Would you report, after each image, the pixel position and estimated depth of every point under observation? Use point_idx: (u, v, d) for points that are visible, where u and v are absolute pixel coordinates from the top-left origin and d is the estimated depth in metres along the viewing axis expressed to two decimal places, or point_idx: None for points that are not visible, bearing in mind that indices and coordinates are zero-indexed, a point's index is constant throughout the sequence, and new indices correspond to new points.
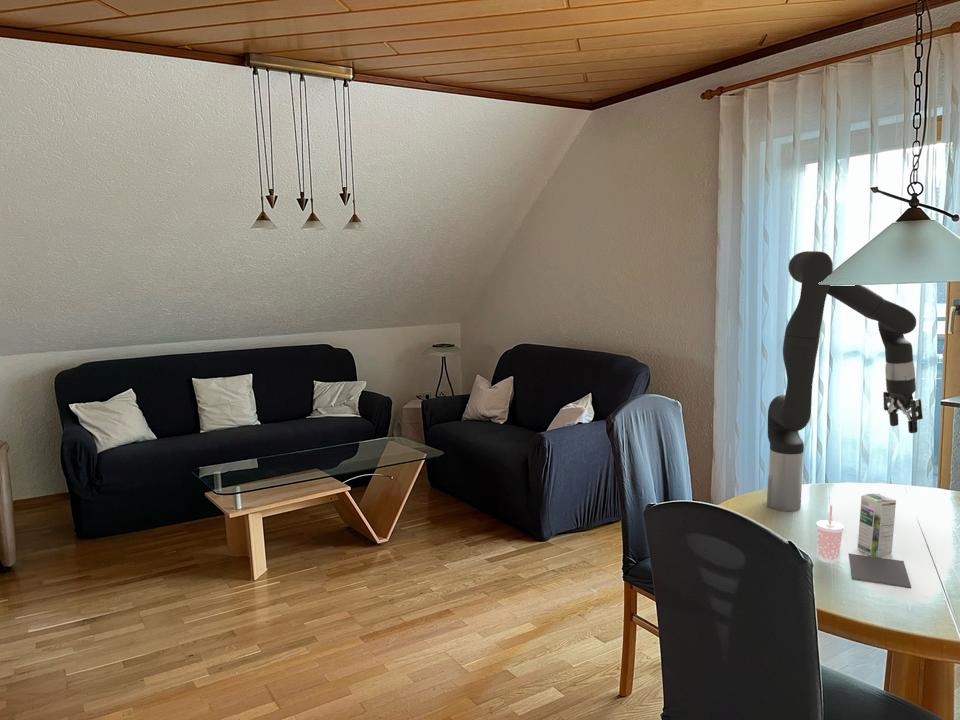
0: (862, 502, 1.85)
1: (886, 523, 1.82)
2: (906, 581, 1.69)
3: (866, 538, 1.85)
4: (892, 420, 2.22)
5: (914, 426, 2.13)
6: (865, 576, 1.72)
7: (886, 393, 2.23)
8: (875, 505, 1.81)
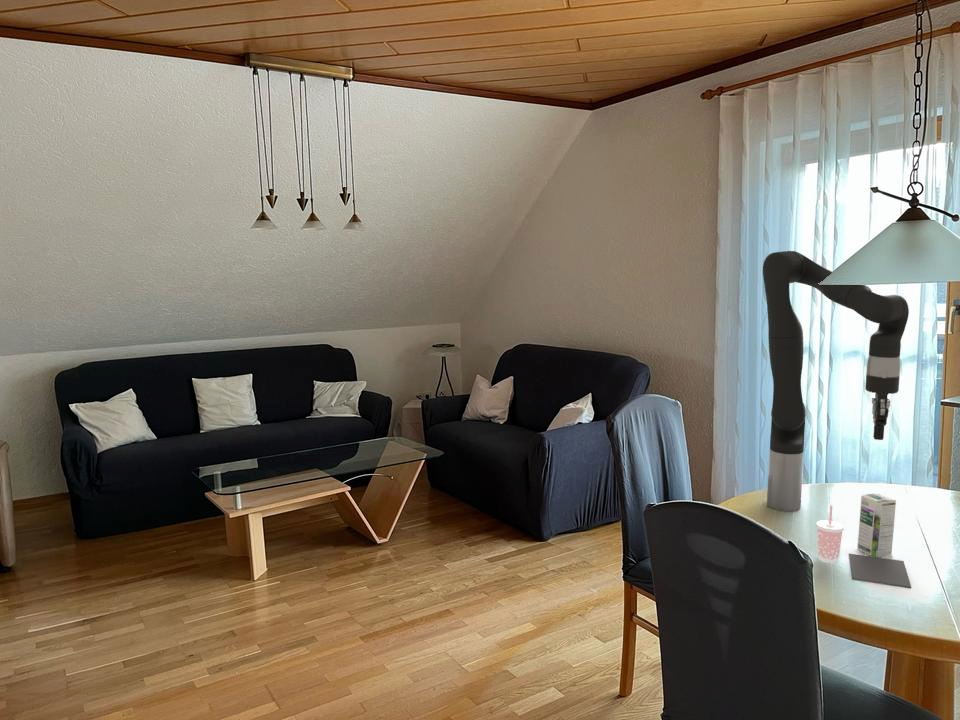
0: (862, 502, 1.85)
1: (886, 523, 1.82)
2: (906, 581, 1.69)
3: (866, 538, 1.85)
4: None
5: (878, 432, 1.89)
6: (865, 576, 1.72)
7: None
8: (875, 505, 1.81)
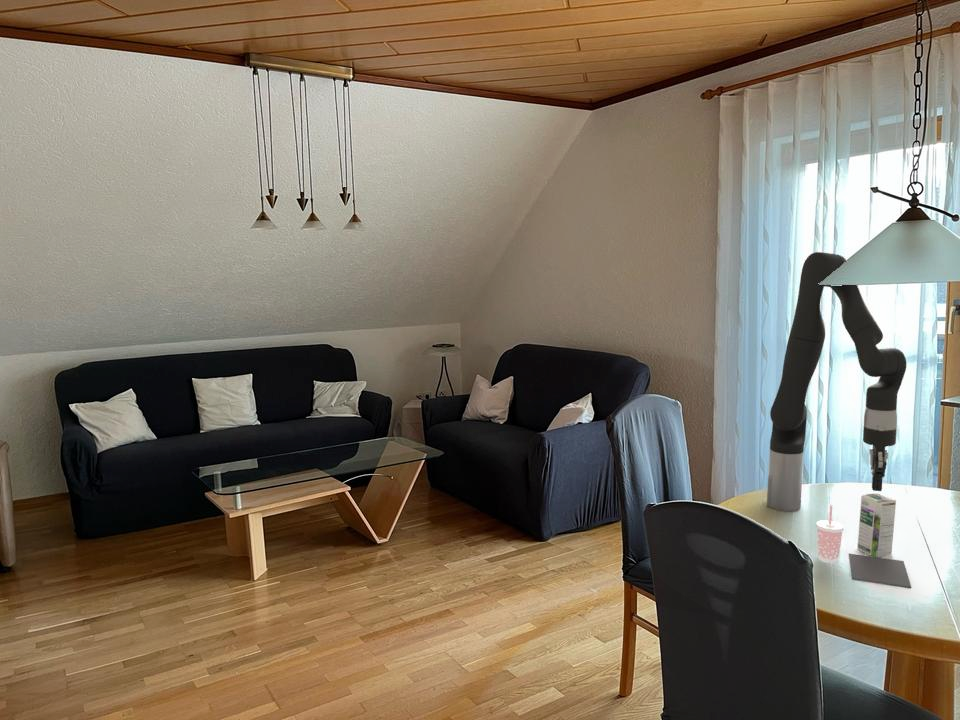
0: (862, 502, 1.85)
1: (886, 523, 1.82)
2: (906, 581, 1.69)
3: (866, 538, 1.85)
4: None
5: (876, 483, 1.91)
6: (865, 576, 1.72)
7: None
8: (875, 505, 1.81)
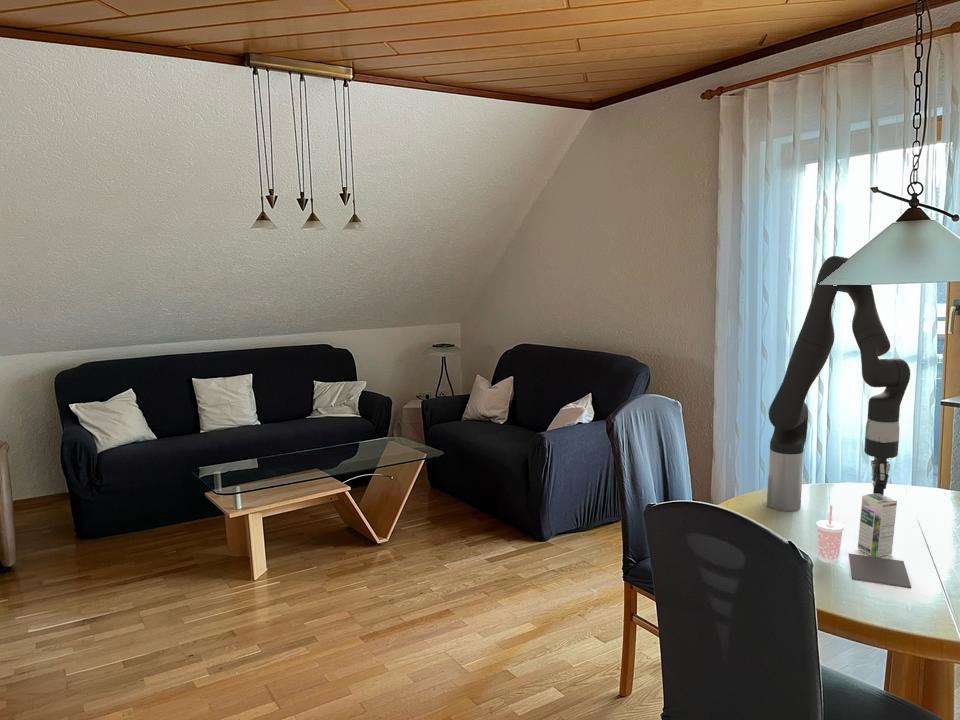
0: (863, 502, 1.85)
1: (887, 524, 1.82)
2: (906, 581, 1.69)
3: (866, 538, 1.84)
4: (874, 493, 1.89)
5: None
6: (865, 576, 1.72)
7: None
8: (876, 506, 1.81)
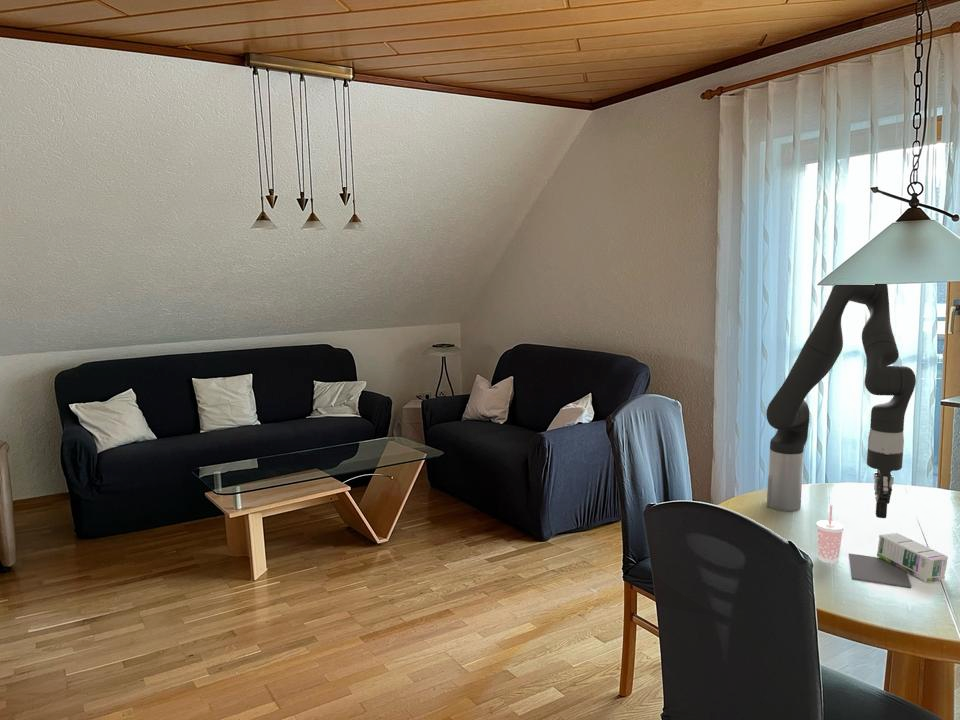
0: (923, 559, 1.69)
1: None
2: (906, 581, 1.69)
3: (890, 551, 1.78)
4: None
5: (881, 510, 1.78)
6: (865, 576, 1.72)
7: None
8: (923, 576, 1.70)
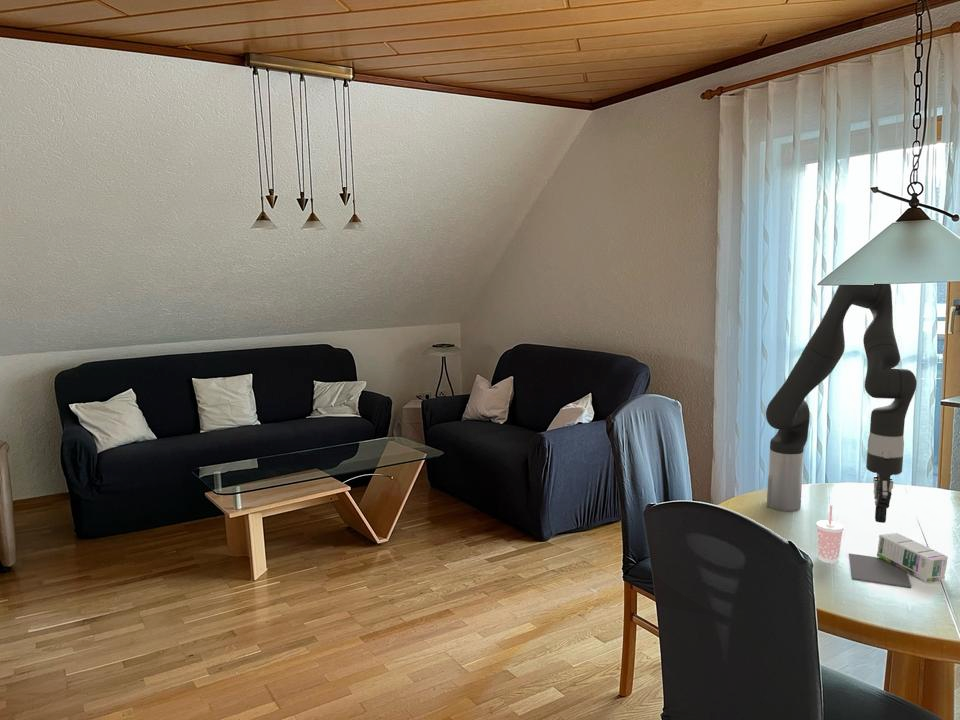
0: (923, 559, 1.69)
1: None
2: (906, 581, 1.69)
3: (890, 551, 1.78)
4: None
5: (880, 514, 1.76)
6: (865, 576, 1.72)
7: None
8: (923, 576, 1.70)
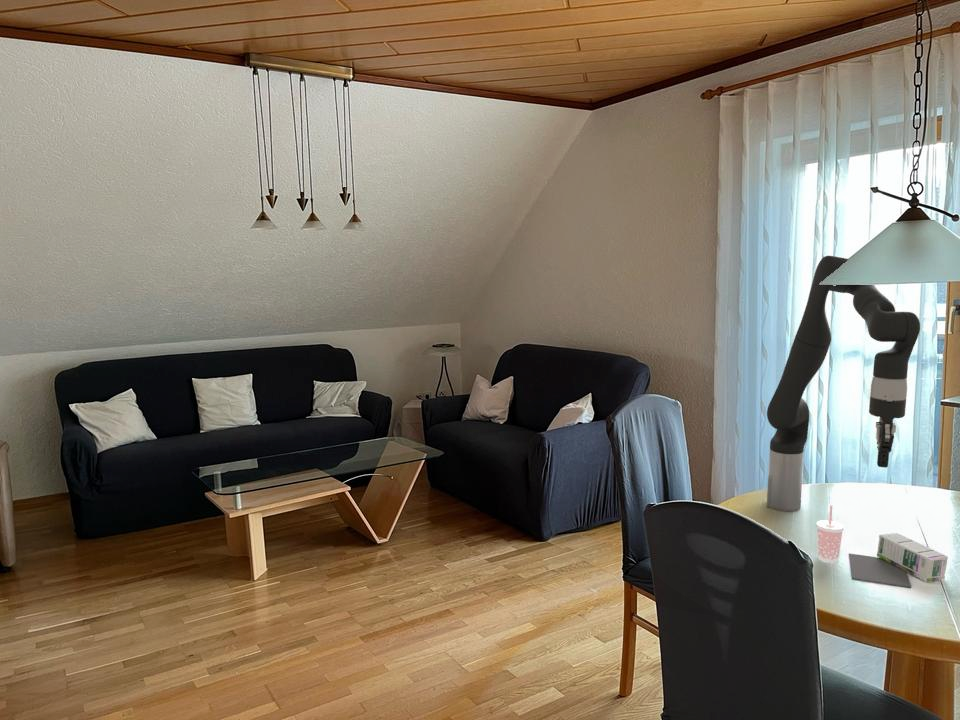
0: (923, 559, 1.69)
1: None
2: (906, 581, 1.69)
3: (890, 551, 1.78)
4: None
5: (882, 459, 1.75)
6: (865, 576, 1.72)
7: None
8: (923, 576, 1.70)
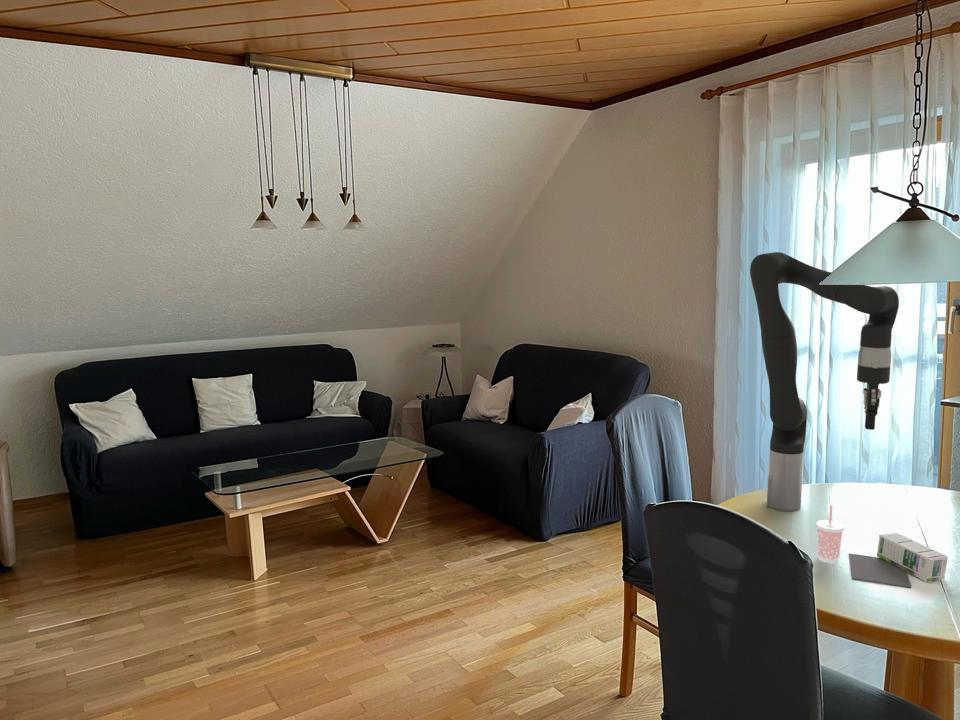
0: (923, 559, 1.69)
1: None
2: (906, 581, 1.69)
3: (890, 551, 1.78)
4: (866, 421, 1.93)
5: (869, 422, 1.92)
6: (865, 576, 1.72)
7: None
8: (923, 576, 1.70)
